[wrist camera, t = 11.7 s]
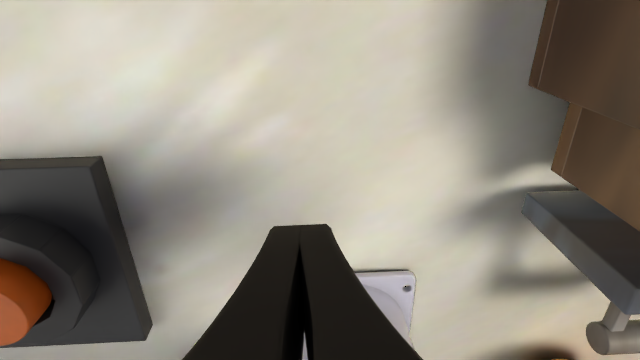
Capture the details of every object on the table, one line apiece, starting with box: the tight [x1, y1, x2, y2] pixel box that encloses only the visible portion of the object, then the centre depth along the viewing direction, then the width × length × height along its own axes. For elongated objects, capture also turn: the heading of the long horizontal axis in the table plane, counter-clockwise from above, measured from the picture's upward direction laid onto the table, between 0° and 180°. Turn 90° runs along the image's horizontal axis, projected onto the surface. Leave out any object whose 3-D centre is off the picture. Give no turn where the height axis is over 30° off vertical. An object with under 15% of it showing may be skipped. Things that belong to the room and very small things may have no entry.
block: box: [0, 156, 153, 348], centre depth 18 cm, size 11×9×3 cm
